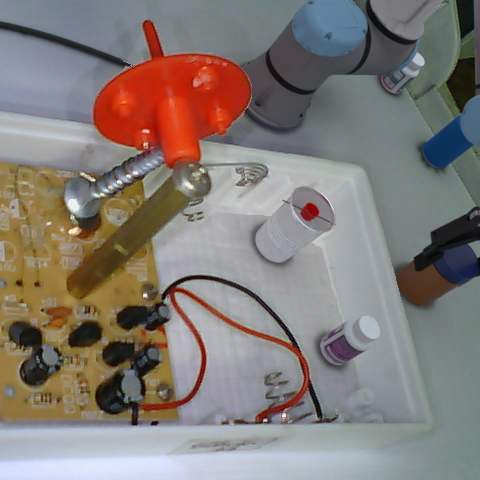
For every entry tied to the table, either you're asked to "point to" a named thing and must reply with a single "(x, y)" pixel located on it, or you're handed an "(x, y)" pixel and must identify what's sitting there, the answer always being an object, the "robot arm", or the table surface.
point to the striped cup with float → (295, 224)
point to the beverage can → (446, 145)
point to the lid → (458, 264)
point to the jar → (423, 284)
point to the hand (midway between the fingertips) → (436, 272)
